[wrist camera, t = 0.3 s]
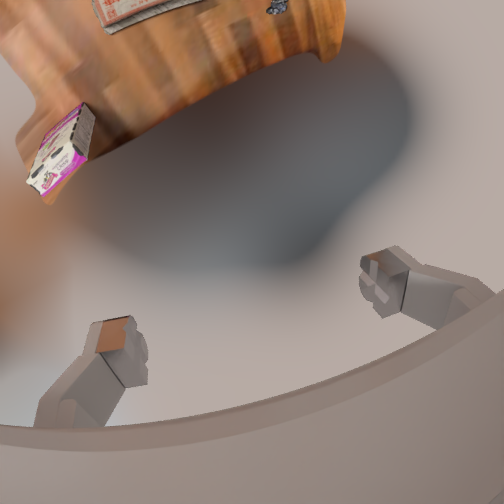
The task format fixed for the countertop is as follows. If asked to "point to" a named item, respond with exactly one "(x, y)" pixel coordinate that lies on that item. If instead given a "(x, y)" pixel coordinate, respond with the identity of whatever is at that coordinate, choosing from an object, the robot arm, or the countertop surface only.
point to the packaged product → (130, 11)
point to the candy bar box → (62, 150)
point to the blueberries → (277, 7)
